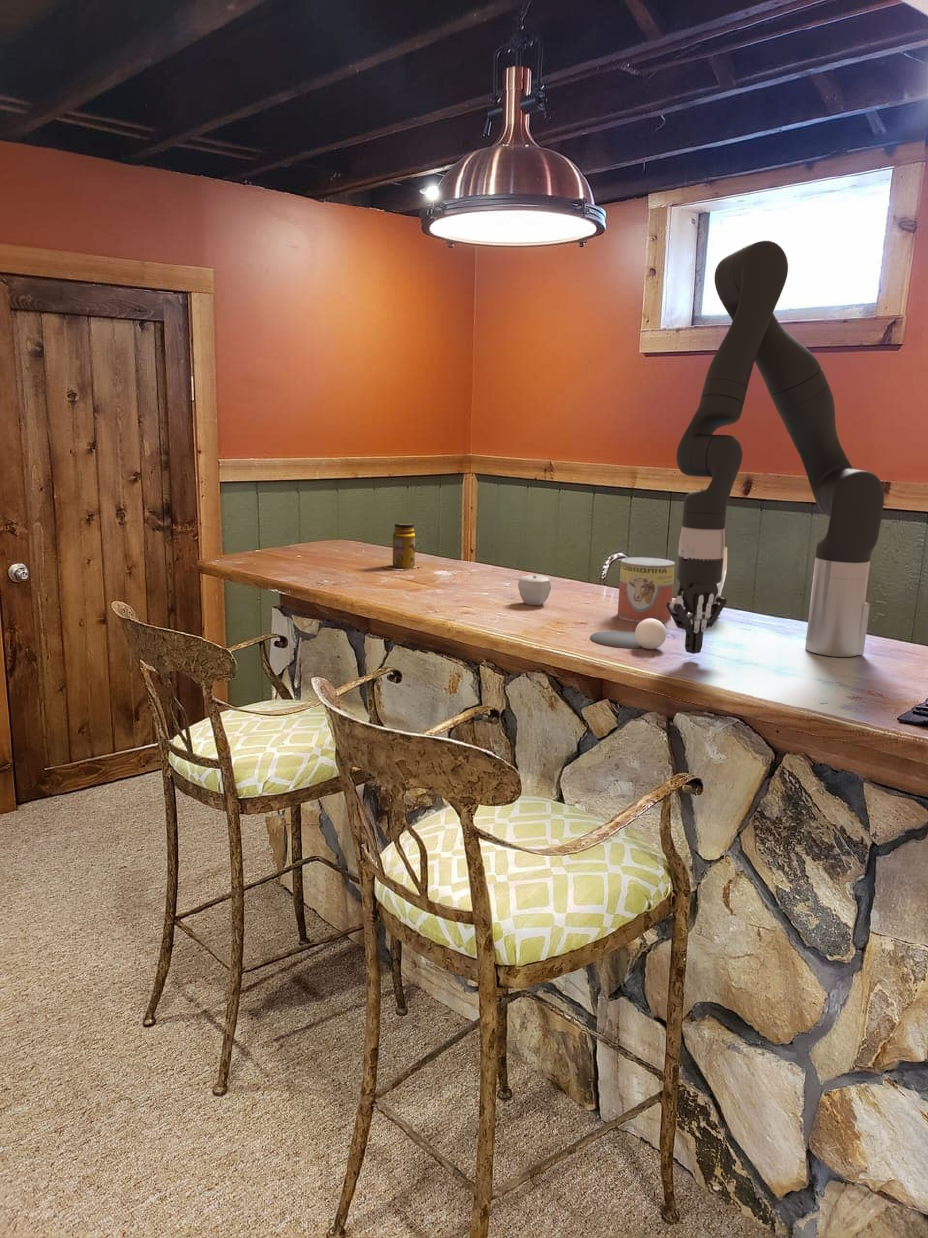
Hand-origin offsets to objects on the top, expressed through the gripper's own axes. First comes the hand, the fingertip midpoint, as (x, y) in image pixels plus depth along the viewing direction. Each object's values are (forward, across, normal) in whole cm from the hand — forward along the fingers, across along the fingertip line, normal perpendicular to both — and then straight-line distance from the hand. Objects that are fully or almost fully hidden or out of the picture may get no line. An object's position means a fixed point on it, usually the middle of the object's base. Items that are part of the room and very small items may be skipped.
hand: (692, 652), depth 159 cm
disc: (+2, 0, -17) cm, 17 cm away
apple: (+2, -5, -52) cm, 52 cm away
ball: (-1, +1, -10) cm, 10 cm away
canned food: (+2, -18, -30) cm, 35 cm away
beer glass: (+2, -31, -25) cm, 40 cm away
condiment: (+2, -3, -108) cm, 108 cm away
